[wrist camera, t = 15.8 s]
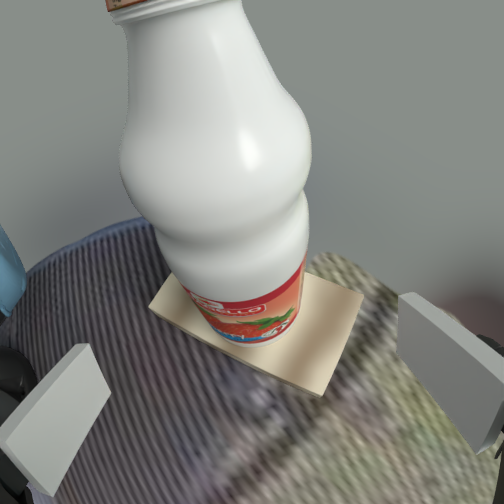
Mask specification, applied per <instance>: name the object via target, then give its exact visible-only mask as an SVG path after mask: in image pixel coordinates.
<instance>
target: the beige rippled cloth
mask: <svg viewBox="0 0 504 504" xmlns="http://www.w3.org/2000/svg"><path fill="white" fill-rule="evenodd" d="M363 297H364V295H362V294H360V293H357V292H355V291H352V290H350V289H347V288H345V287H342V286H340V285H337V284H335V283H332V282H330V281H327V280H325V279H322V278H320V277H317V276H314V275H312V274H309V273H307V272H305V274H304V283H303V291H302V299H301V307H300V312H299V315H298V317H297V319H296V321H295V323H294V325H293V326H292V328H291V329H290V330H289V332H288V333H287V334H286V335H285V336H283V337H282V338H281V339H279V340H278V341H276V342H274V343H272V344H269V345H267V346H263V347H257V348H246V347H240V346H237V345H234V344H232V343H229V342H228V341H226V340H224V339H223V338H222V337H220V336H219V335H218V334H217V333H216V332H215V331H214V330H213V329H212V327H211V326H210V324H209V323H208V322H207V320H206V319H205V318H204V316H203V315H202V314H201V312H200V311H199V309H198V308H197V307H196V305H195V304H194V302H193V301H192V299H191V298H190V297H189V295H188V294H187V292H186V291H185V289H184V288H183V287H182V285H181V284H180V282H179V281H178V279H177V278H176V277H175V276H174V274H173V273H172V272H171V274H170V275H169V277H168V278H167V279H166V281H165V282H164V284H163V285H162V287H161V288H160V290H159V291H158V293H157V294H156V296H155V297H154V299H153V300H152V302H151V303H150V305H149V306H148V307H149V308H150V309H151V310H152V311H153V312H154V313H155V314H156V315H157V316H158V317H160V318H162V319H163V320H165V321H167V322H168V323H170V324H172V325H173V326H175V327H177V328H178V329H180V330H182V331H184V332H185V333H187V334H189V335H191V336H192V337H194V338H196V339H198V340H200V341H201V342H203V343H205V344H207V345H209V346H211V347H212V348H214V349H216V350H218V351H220V352H222V353H224V354H226V355H228V356H229V357H231V358H233V359H235V360H237V361H239V362H241V363H243V364H245V365H247V366H249V367H251V368H253V369H255V370H257V371H260V372H262V373H264V374H266V375H268V376H270V377H272V378H274V379H277V380H279V381H281V382H283V383H285V384H288V385H290V386H292V387H294V388H297V389H299V390H301V391H303V392H306V393H308V394H311V395H313V396H315V397H318V398H319V397H321V396H322V395H323V393H324V391H325V389H326V387H327V385H328V383H329V380H330V378H331V376H332V374H333V372H334V369H335V367H336V365H337V363H338V360H339V358H340V356H341V353H342V351H343V349H344V346H345V344H346V342H347V339H348V337H349V334H350V332H351V329H352V327H353V324H354V322H355V319H356V316H357V314H358V311H359V308H360V306H361V303H362V300H363Z"/></svg>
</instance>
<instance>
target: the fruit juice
mask: <svg viewBox="0 0 504 504" xmlns="http://www.w3.org/2000/svg"><path fill="white" fill-rule="evenodd" d="M106 6H107V10H108V12H111V14H110V15H111V16H112V17H113V20H112V21H113V22H114V23H115V24H116V25H121V26H122V28H123V30H124V32H125V35H126V40H127V49H128V111H127V118H126V123H125V127H124V132H123V137H122V140H121V144H120V150H119V170H120V175H121V178H122V182H123V185H124V187H125V189H126V192H127V194H128V196H129V198H130V200H131V202H132V204H133V205H134V207H135V208H136V209H137V210H138V212H139V213H140V214H141V215H142V216H143V217H144V218H145V219H146V220H147V221H148V222H149V223H150V224H152V225H153V226H154V229H155V235H156V239H157V243H158V246H159V248H160V250H161V253H162V255H163V257H164V259H165V261H166V262H167V264H168V266H169V268H170V270H171V271H172V273H173V274H174V276H175V277H176V278H177V279H178V281H179V282H180V284H181V285H182V287H183V288H184V289H185V291H186V292H187V294H188V295H189V297H190V298H191V299H192V301H193V302H194V304H195V305H196V307H197V308H198V309H199V311H200V312H201V314H202V315H203V316H204V318H205V319H206V320H207V322H208V323H209V324H210V326H211V327H212V329H213V330H214V331H215V332H216V333H217V334H218V335H219V336H220V337H222V338H223V339H224V340H226V341H228V342H229V343H232V344H234V345H237V346H240V347H246V348H257V347H263V346H267V345H269V344H272V343H274V342H276V341H278V340H279V339H281V338H282V337H283V336H285V335H286V334H287V333H288V332H289V330H290V329H291V328H292V326H293V325H294V323H295V321H296V319H297V317H298V315H299V312H300V307H301V299H302V291H303V283H304V274H305V265H306V255H307V246H308V240H309V212H308V205H307V199H306V196H305V193H304V191H303V187H304V185H305V183H306V180H307V176H308V174H309V170H310V165H311V158H312V155H311V154H312V153H311V136H310V130H309V126H308V123H307V120H306V118H305V116H304V114H303V112H302V110H301V108H300V107H299V106H298V104H297V103H296V101H294V99H293V98H292V97H291V96H290V95H289V93H288V92H287V91H286V90H285V89H284V88H283V86H282V85H281V84H280V82H279V80H278V79H277V77H276V75H275V73H274V72H273V69H272V68H271V66H270V64H269V62H268V60H267V58H266V56H265V54H264V52H263V50H262V48H261V46H260V44H259V42H258V40H257V37H256V35H255V33H254V31H253V29H252V27H251V25H250V23H249V21H248V19H247V17H246V15H245V12H244V10H243V7H242V0H106Z"/></svg>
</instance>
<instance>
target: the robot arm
mask: <svg viewBox="0 0 504 504" xmlns="http://www.w3.org/2000/svg"><path fill="white" fill-rule="evenodd" d="M26 286H27V277H26V273H25V269H24V267H23V264H22V262H21V260H20V258H19V256H18V254H17V252H16V250H15V248H14V247H13V245H12V243H11V241H10V240H9V238H8V236H7V235H6V233H5V231H4V230H3V228H2V227H1V225H0V326H1V325H2V323H3V322H4V321H5V319H6V318H7V317H10V316H11V314H12V310H13V308H14V307H15V305H16V304H17V302H18V301H19V300H20V298H21V297H22V295H23V294H24V292H25V290H26ZM396 353H397V354H398V355H399V356H400V358H401V359H402V360H403V361H404V362H405V364H406V365H407V366H408V367H409V369H410V370H411V371H412V372H413V373H414V375H415V376H416V377H417V378H418V380H419V381H420V382H421V383H422V384H423V386H424V387H425V388H426V389H427V391H428V392H429V393H430V394H431V396H432V397H433V398H434V400H435V401H436V402H437V403H438V405H439V406H440V407H441V408H442V410H443V411H444V412H445V414H446V415H447V416H448V417H449V419H450V420H451V421H452V423H453V424H454V425H455V427H456V428H457V429H458V431H459V432H460V433H461V435H462V436H463V437H464V439H465V440H466V441H467V443H468V444H469V445H470V447H471V448H472V449H473V451H474V452H475V453H476V455H477V454H479V453H481V452H482V451H484V450H485V449H487V448H488V447H490V446H491V445H493V444H494V443H495V441H496V440H497V438H498V436H499V434H500V432H501V431H502V432H503V433H504V348H503V347H501V345H500V344H498V343H497V342H495V341H494V340H493V339H491V338H488V337H485V336H483V335H477V336H475V335H474V334H472V333H471V332H470V331H468V330H467V329H466V328H464V327H463V326H462V325H460V324H459V323H457V322H456V321H455V320H453V319H452V318H451V317H449V316H448V315H446V314H445V313H444V312H442V311H441V310H439V309H438V308H437V307H435V306H434V305H432V304H431V303H429V302H428V301H427V300H425V299H424V298H422V297H421V296H419V295H418V294H416V293H415V292H411V293H407V294H403V295H399V296H398V332H397V349H396ZM110 394H111V392H110V390H109V387H108V385H107V383H106V381H105V379H104V377H103V375H102V373H101V370H100V368H99V366H98V364H97V361H96V359H95V357H94V354H93V352H92V349H91V347H90V345H89V343H86V344H76V345H75V346H74V347H73V348H72V349H71V350H70V351H69V352H68V353H67V354H66V355H65V356H64V357H63V358H62V359H61V360H60V361H59V362H58V363H57V364H56V365H55V366H54V368H53V369H52V370H51V371H50V372H49V373H48V374H47V375H46V376H45V377H44V378H43V379H42V380H41V381H40V383H39V384H38V385H37V381H36V377H35V374H34V372H33V369H32V367H31V365H30V363H29V362H28V360H27V359H26V358H25V357H24V356H23V355H22V354H21V353H19V352H17V351H15V350H13V349H11V348H9V347H6V346H0V504H34V503H33V498H32V493H31V491H30V489H29V488H28V487H27V486H26V485H27V483H28V482H30V483H31V484H32V485H33V486H34V487H35V488H36V489H37V490H38V491H39V492H41V493H44V494H46V495H49V496H52V497H53V496H54V494H55V493H56V491H57V489H58V487H59V485H60V483H61V481H62V479H63V477H64V475H65V473H66V472H67V470H68V468H69V466H70V464H71V462H72V460H73V459H74V457H75V455H76V453H77V451H78V450H79V448H80V446H81V444H82V442H83V441H84V439H85V437H86V435H87V434H88V432H89V430H90V428H91V427H92V425H93V423H94V421H95V420H96V418H97V416H98V414H99V413H100V411H101V409H102V408H103V406H104V404H105V403H106V401H107V399H108V398H109V396H110ZM501 451H502V455H501V463H500V469H499V475H498V481H497V486H496V491H495V496H494V500H493V504H504V440H503V442H502V444H501V446H500V448H499V449H498V451H497V453H496V455H495V458H494V459H497V458H498V456H499V455H500V453H501Z"/></svg>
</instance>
